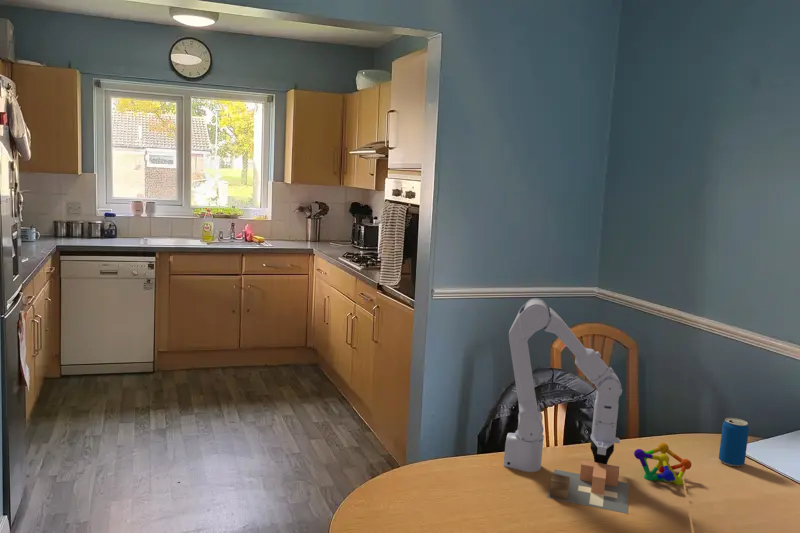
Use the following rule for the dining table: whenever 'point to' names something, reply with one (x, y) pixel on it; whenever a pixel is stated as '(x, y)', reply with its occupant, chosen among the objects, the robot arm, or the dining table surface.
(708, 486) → the dining table surface
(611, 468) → the t block
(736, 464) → the beverage can
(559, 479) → the walnut cube
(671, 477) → the decorative model
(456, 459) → the dining table surface
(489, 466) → the dining table surface
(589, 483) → the board
